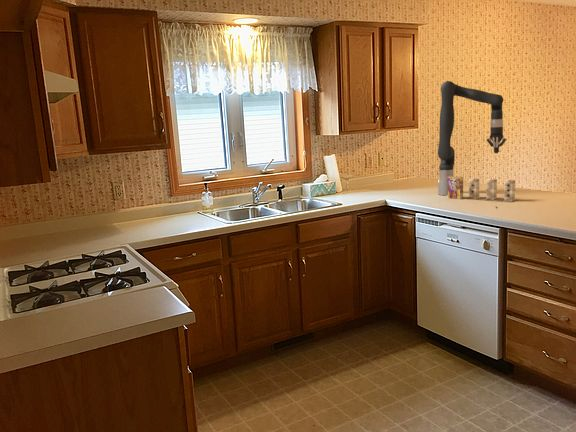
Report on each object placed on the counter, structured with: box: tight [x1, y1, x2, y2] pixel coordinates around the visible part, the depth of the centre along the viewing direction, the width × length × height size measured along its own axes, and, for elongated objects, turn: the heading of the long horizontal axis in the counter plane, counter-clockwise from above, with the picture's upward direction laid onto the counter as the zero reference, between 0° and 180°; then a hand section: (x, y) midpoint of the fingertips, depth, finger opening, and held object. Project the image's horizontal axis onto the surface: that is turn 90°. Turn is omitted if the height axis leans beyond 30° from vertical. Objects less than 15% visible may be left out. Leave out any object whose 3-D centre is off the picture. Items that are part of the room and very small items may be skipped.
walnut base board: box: [464, 196, 519, 203], centre depth 303 cm, size 30×10×2 cm, turn 44°
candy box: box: [447, 175, 464, 200], centre depth 314 cm, size 9×4×15 cm, turn 39°
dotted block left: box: [468, 177, 480, 199], centre depth 310 cm, size 4×5×12 cm
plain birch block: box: [485, 178, 498, 200], centre depth 302 cm, size 4×4×12 cm
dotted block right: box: [503, 179, 516, 201], centre depth 294 cm, size 4×5×12 cm
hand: (496, 153), depth 323 cm, fingers closed
